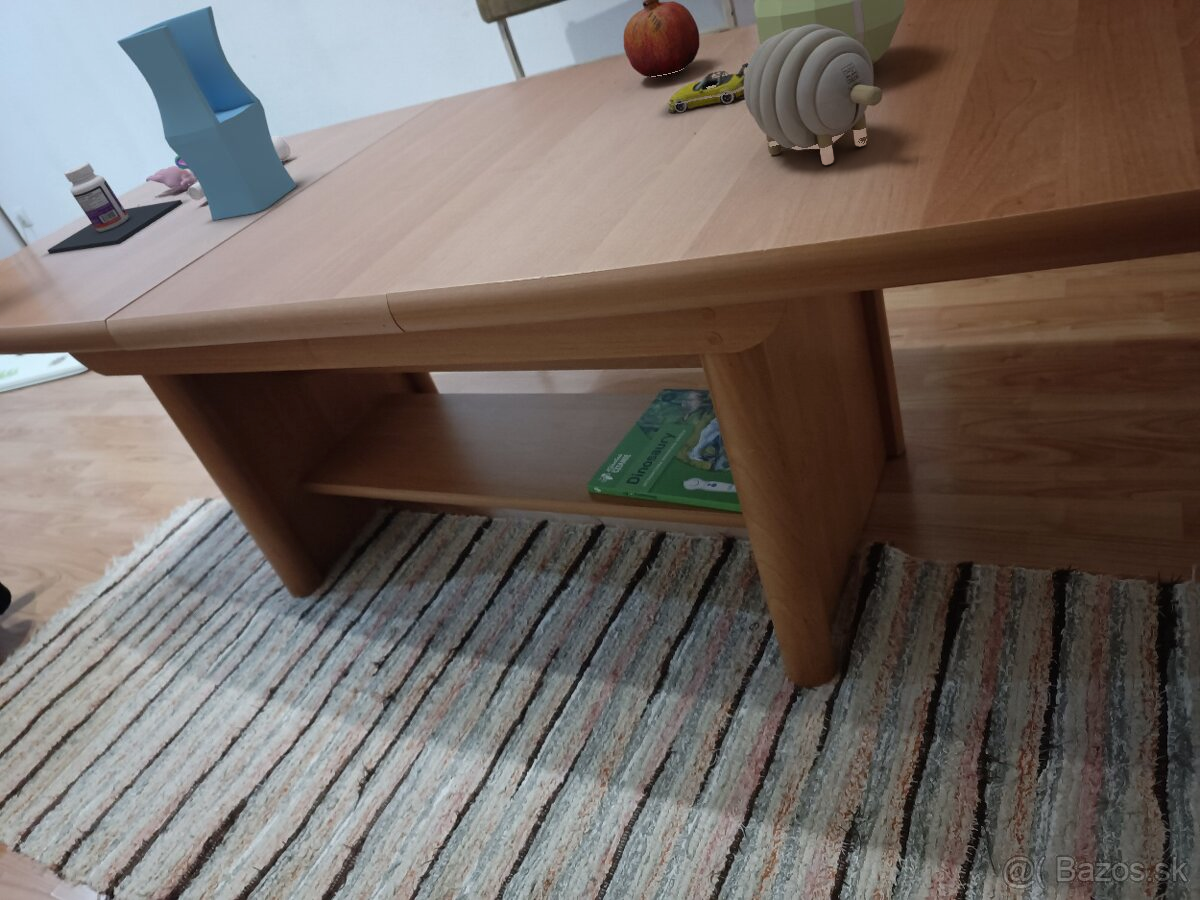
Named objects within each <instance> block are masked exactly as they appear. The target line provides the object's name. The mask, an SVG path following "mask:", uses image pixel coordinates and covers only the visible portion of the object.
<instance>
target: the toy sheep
mask: <svg viewBox="0 0 1200 900" xmlns="http://www.w3.org/2000/svg"><path fill="white" fill-rule="evenodd" d="M751 55H752V56H751V57H750V58H749V59H750V60H749V61H748V66H747V68H745V69H746V70H745V73H744V74H745V76H743V77H741V78H740V79H741V80H744V101H745V102H744V103H745V105H746V109H748V112H749V113H750V115H751V117H752V118H753V119H754V121H755V123H756V124H757V127H759V129H760V130H761V131H762V132H763V133H764V134H765V137H766V142H767V141H768V142H771V141H776V142H777V143H778V144H779V145H776V146H772V147H770V146H768V145H767V148H768V153H769V154H770V155H771V156H777V155H779V154H781V152H782V150H783V148H785V149H787V148H792V147H795V146H798V147H801V148H808V147H811V146H813V145H816V144H818V146H819V148H825V147H828V146H830V145H832V143H833V141H832V137H834V136H838V135H841V134H843V133H845V132H846V131H847V132H848V131H849V130H852V129H853V130H861V129H864V128H866V127H867V120H866V113H865V112H866V111H867V108H868V106H871V107H874V106H877V105H879V104H880V103H881V101H882V99H883V90H882V89H881V88H880V87H878V86H874V82H875V80H874V79H875V76H874V73H875V72H874V65H873V64H872V61H871V59H870V56H869V54H868V52H867V50H866V49H865V48H864V46H863V45H862V44H861V43H859V42H858V41H857V40H855V39H853V38H851V37H849V36H848V35H847V34H845V33H844V32H842V31H839V30H836V29H831V28H829V27H826V26H823V25H818V24H811V25H806V26H802V27H797V28H791V29H788V30H786V31H784V32H782V33H780V34H778V35H775V36H773V37H771V38H769V39H767V40H766V41H765V42H763V43H762V44H761V45H759V46H758V47H757V49H755V50H754V52H753V54H751ZM847 132H846V133H847ZM846 133H845V134H846ZM860 139H861V140H860ZM860 139H859V140H860V141H862V142H863V141H864V143H865V141H866V139H867V141H866V143H867V142H868V143H869V135H868V134H867V136H866V137H863V138H860ZM858 142H859V141H858ZM862 142H861V143H862ZM859 143H860V142H859ZM864 143H863V144H864ZM868 143H867V144H868ZM806 150H809V149H803V150H797V151H798V152H799V151H806Z"/></svg>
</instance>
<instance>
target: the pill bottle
mask: <svg viewBox="0 0 1200 900" xmlns="http://www.w3.org/2000/svg"><path fill="white" fill-rule="evenodd" d="M94 172H95V170H94V168H93V166H92V165H91V163H89V162H84V163H81V164H79V165H76V166H73V167H72V168H69V169H67V170H66V171H65V172H64V173H63V175H64V176H65V178H66V179H67V181H68V182H69V183H71V184H72V185H71V187H70V193H71V195H72V196H73V198H74V199H75V201H76V202H77V204H78V205H79V207H80V208H81V209H82V211H83V212H84V214H85V215H86V217H87V218H88V220H89V221H90V224H93V226H94V227H95V228H96V230H97V231H98V232H104V231H107V230H110V229H113V228H115V227H118V226H119V225H121V224H123V223H124V222H126V221H127V220H128V218H129V216H128V214H127V212H126V211H125V209H126V208H124V206H123V204H121V202H120V200H119V198H118V197H117V196H116V194H115V193H114V191H113V190H112V189H113V188H111V186H110V184H109V183H108V182H107V180H106V178H105V177H104V176H102V175H100V174H95V173H94Z"/></svg>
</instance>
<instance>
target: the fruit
mask: <svg viewBox="0 0 1200 900" xmlns="http://www.w3.org/2000/svg"><path fill="white" fill-rule="evenodd" d="M642 6H643V9H641V10H639V11H638V12H636V13H634V14H633V15H632V16H631V18H630V19H629V20H628V21H627V23H626V25H625V27H624V30H623V36H622V37H623V49H624V53H625V55H626V57H627V59H628V61H629V64H630V66H631V67H632V68H633V69H634V70H635V71H636V72H637V73H638V74H640V75H642V76H643V77H646V76H647V78H653V79H658V78H668V77H672V76H674V75H677V74H679V73H681V72H682V71H684V70H685V69H686V68H687V67H688V66H689V65H691V64H692V62H694V60H695V59H696V56H697V55H698V52H699V49H700V32H699V27H698V25H697V23H696V20H695V18H694V17H693V15H692V14H691V12H690V11H689V9H688V8H687V7H686V6H684V5H683V4H681V3H679V2H677V1H660V0H644V1H643V2H642ZM686 66H687V67H686ZM685 67H686V68H685ZM683 68H685V69H683ZM681 69H683V70H681ZM679 70H681V71H679ZM675 71H678V72H675ZM672 72H675V73H672ZM668 73H671V74H668ZM663 74H667V75H663ZM657 75H662V76H657ZM651 76H656V77H651Z"/></svg>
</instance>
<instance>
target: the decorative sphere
mask: <svg viewBox="0 0 1200 900" xmlns="http://www.w3.org/2000/svg"><path fill="white" fill-rule="evenodd" d="M905 7H906V6H905V0H754V3H753V13H754V18H755V23H756V29H757V35H758V41H759V44H760V45H761V44H762V43H763V42H765V41H766V40H767V39H769V38H771V37H773V36H775V35H778V34H780V33H782V32H784V31H786V30H788V29H791V28H797V27H802V26H806V25H811V24H818V25H823V26H826V27H829V28H831V29H836V30H839V31H842V32H844V33H845V34H847V35H848V36H849V37H851V38H853V39H855V40H857V41H858V42H859V43H861V44H862V45H863V46H864V48H865V49H866V50H867V52H868V54H869V56H870V59H871V61H872V65H873V64H875V63H876V62H877V61H879V60H880V59H881V58H882V56H884V54H885V53H886V52H887V51H888V50H889V48H890V46H891V43H892V41H893V38H894V36H895V34H896V32H897V29H898V27H899V24H900V21H901V19H902V18H903V15H904V12H905V10H906V8H905ZM760 45H759V46H760Z"/></svg>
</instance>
